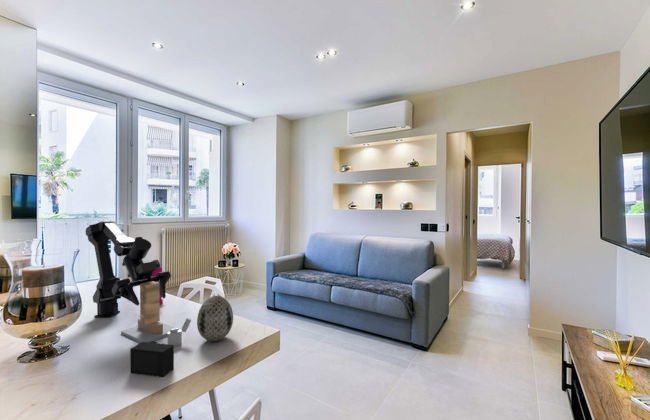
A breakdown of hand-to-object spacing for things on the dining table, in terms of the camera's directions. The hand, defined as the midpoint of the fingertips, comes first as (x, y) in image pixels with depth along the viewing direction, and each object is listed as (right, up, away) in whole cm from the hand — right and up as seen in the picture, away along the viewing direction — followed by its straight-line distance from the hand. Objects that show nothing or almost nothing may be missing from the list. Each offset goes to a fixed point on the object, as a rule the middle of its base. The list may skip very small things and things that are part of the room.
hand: (152, 301), depth 106 cm
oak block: (-1, -8, +1) cm, 8 cm away
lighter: (+14, -12, -7) cm, 20 cm away
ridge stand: (-1, -12, +1) cm, 12 cm away
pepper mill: (-18, -12, +32) cm, 38 cm away
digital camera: (+14, -12, -23) cm, 30 cm away
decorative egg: (+25, -12, -5) cm, 28 cm away
